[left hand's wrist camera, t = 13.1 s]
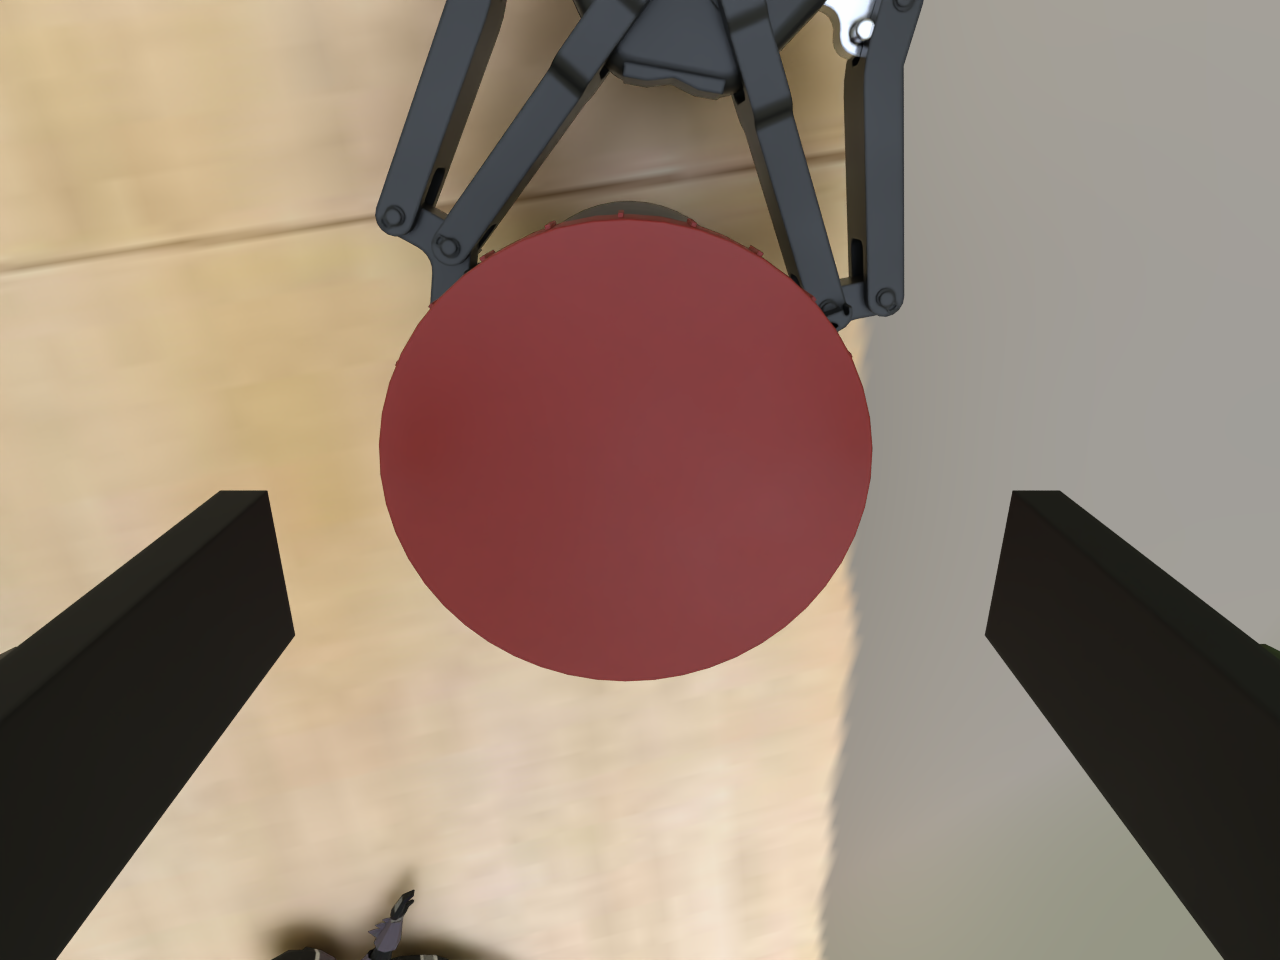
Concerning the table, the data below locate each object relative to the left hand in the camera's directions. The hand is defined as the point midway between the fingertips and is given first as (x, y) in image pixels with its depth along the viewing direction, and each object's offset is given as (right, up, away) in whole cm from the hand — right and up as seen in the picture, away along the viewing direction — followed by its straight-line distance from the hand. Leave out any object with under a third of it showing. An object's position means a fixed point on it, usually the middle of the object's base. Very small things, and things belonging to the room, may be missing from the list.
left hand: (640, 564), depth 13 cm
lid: (0, +2, +4) cm, 5 cm away
